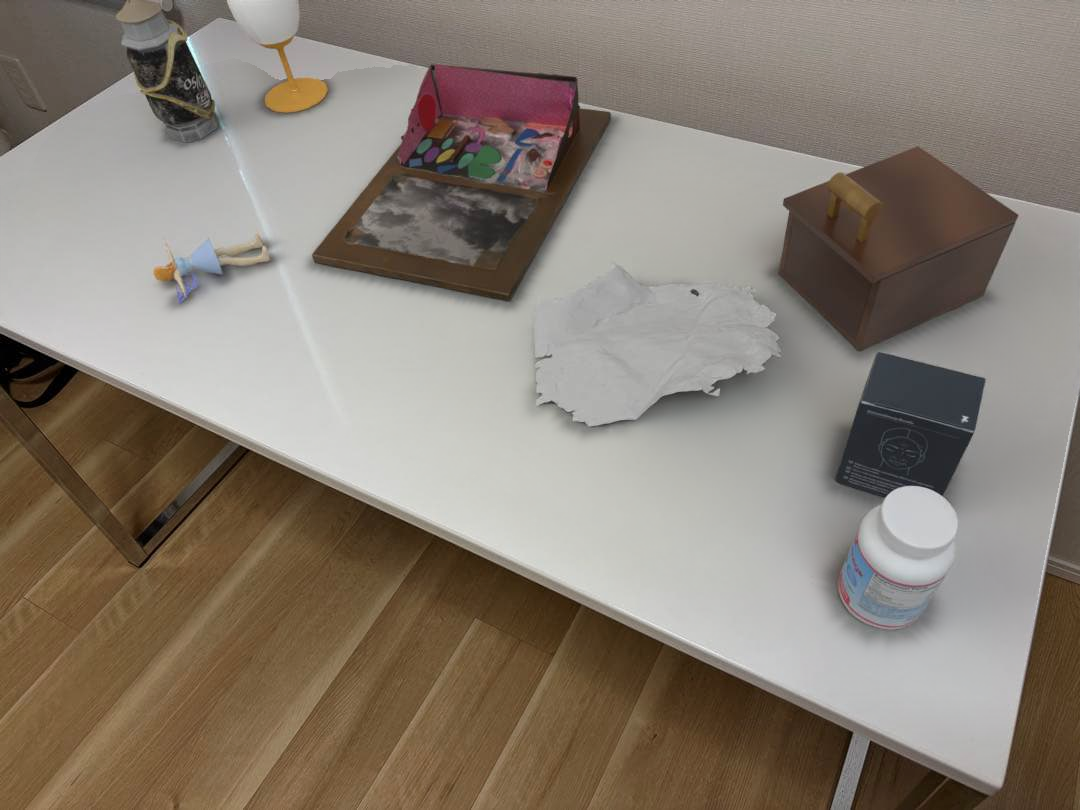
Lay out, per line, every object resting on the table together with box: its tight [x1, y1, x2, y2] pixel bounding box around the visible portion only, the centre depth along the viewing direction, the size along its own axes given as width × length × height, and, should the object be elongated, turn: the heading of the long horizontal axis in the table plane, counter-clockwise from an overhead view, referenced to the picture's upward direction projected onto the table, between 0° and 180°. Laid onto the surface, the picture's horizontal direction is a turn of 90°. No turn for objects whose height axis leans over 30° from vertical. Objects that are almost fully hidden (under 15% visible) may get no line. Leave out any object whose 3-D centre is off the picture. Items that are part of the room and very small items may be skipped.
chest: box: [777, 210, 1016, 352], centre depth 77 cm, size 15×13×9 cm
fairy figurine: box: [153, 230, 271, 304], centre depth 90 cm, size 12×5×12 cm
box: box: [835, 351, 987, 498], centre depth 63 cm, size 8×6×11 cm
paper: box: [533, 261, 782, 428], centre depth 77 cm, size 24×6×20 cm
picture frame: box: [311, 63, 612, 301], centre depth 94 cm, size 24×35×8 cm
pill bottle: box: [837, 486, 959, 630], centre depth 56 cm, size 6×6×11 cm
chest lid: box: [782, 145, 1020, 283], centre depth 72 cm, size 16×13×5 cm
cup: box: [226, 0, 329, 114], centre depth 109 cm, size 9×9×16 cm
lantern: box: [115, 0, 219, 143], centre depth 103 cm, size 9×8×25 cm
